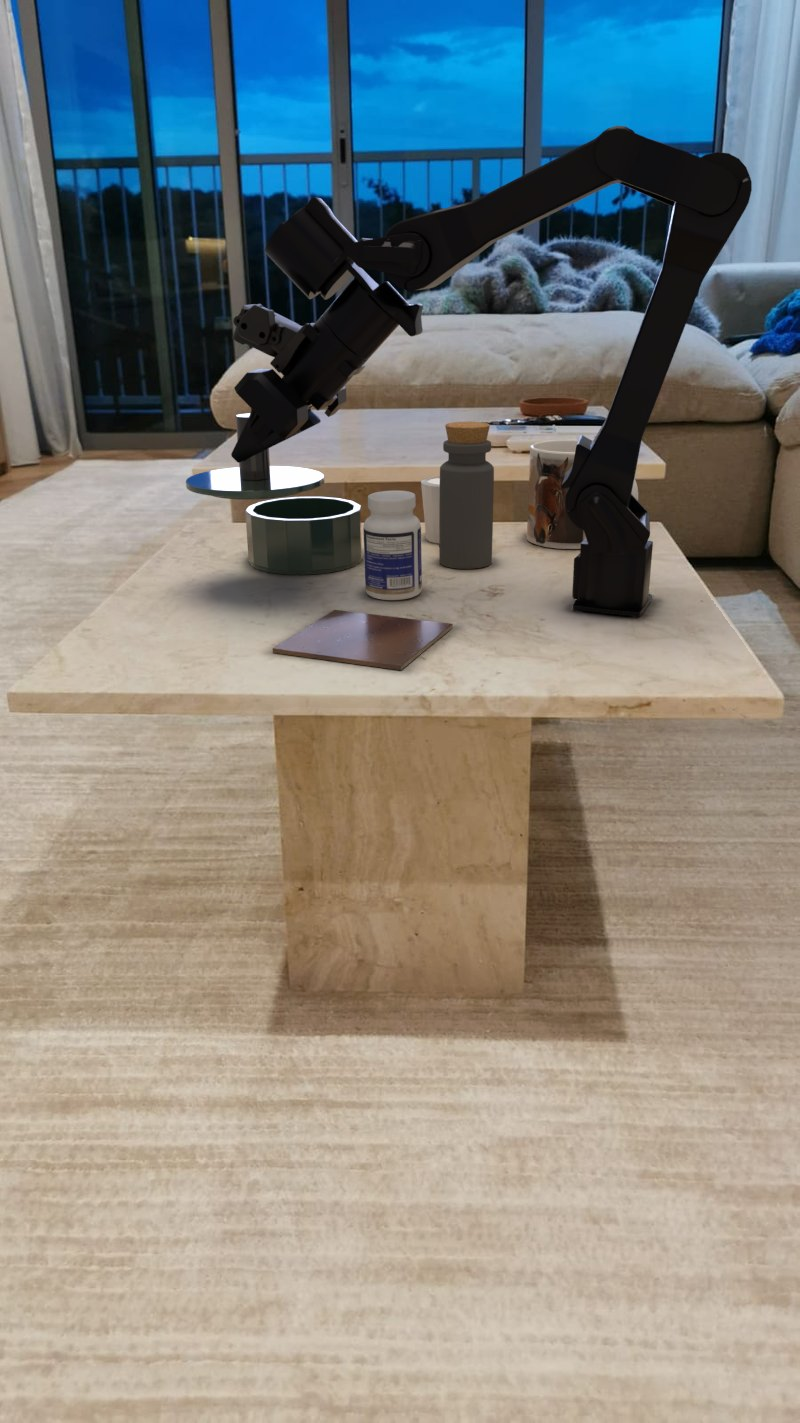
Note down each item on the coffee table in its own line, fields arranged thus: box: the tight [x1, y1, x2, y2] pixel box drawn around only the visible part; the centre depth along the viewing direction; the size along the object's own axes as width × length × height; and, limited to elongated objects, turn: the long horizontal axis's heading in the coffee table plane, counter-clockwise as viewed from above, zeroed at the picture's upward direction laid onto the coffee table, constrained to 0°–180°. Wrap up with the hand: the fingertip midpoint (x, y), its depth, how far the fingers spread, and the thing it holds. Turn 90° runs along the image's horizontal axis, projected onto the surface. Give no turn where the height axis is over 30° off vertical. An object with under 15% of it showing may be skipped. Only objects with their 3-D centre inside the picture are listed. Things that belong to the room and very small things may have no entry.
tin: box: [244, 496, 363, 576], centre depth 120 cm, size 13×13×6 cm
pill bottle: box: [362, 490, 423, 601], centre depth 106 cm, size 6×6×10 cm
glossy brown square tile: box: [272, 609, 453, 671], centre depth 95 cm, size 12×12×1 cm
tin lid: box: [185, 412, 325, 501], centre depth 105 cm, size 14×14×7 cm
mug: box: [526, 439, 639, 550], centre depth 125 cm, size 10×12×11 cm
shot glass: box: [420, 476, 440, 545], centre depth 128 cm, size 7×7×7 cm
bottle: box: [438, 421, 495, 570], centre depth 116 cm, size 6×6×15 cm
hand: (240, 456), depth 105 cm, fingers closed on tin lid, 3 cm apart
